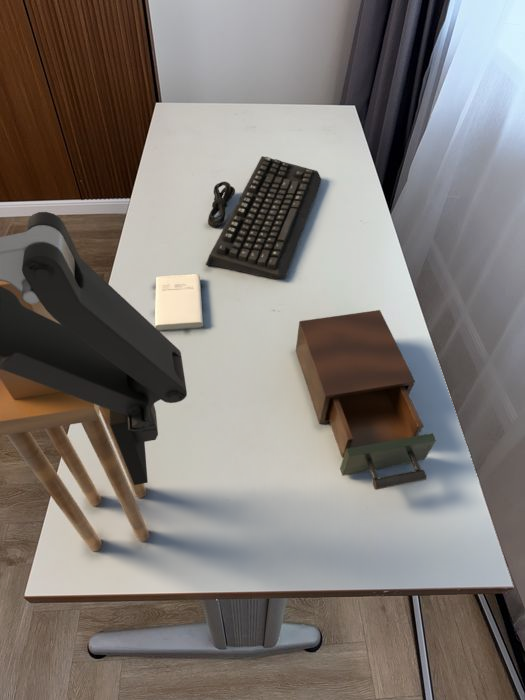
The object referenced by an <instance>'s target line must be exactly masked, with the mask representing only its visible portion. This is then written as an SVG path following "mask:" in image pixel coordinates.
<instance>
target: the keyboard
mask: <svg viewBox="0 0 525 700" xmlns="http://www.w3.org/2000/svg"><path fill="white" fill-rule="evenodd" d="M321 183H322V178H321V176H320V173H319V171H318V170H316V169H312V168H307V167H305V166H300V165H297V164H293V163H289V162H285V161H281V160H280V159H277V158H272V157H269V156H263V155H262V156H260V158H259V160H258V162H257V165H256V167H255V168H254V170H253V171H252V173H251V176H250V177H249V180H248V182H247V184H246V185H245V187H244V189H243V191H242V193H241V195H240V197H239V199H238V202H237V204H236V205H235V206H234V208H233V210H232V212H231V214H230V216H229V217H228V219H227V221H226V223H225V225H224V227H223V228H222V231H221V232H220V235H219V236H218V237H217V240H216V241H215V244H214V246H213V248H212V250H211V252H210V253H209V255H208V257H207V260H206V263H205V266H207V267H209V266H214V267H219V268H224V269H228V270H233V271H238V272H241V273H246V274H252V275H256V276H260V277H265V278H269V279H276V280H277V279H280V278H281V279H286V277H287V276H288V274H289V270H290V267H291V264H292V261H293V258H294V256H295V253H296V251H297V248H298V245H299V243H300V239H301V237H302V235H303V231H304V228H305V226H306V223H307V220H308V218H309V215H310V212H311V209H312V207H313V204H314V202H315V200H316V197H317V194H318V191H319V188H320V186H321ZM222 186H224V188H222V189H221V191H220V189H219V188H221V187H222ZM235 193H236V189H235V187H233V186H232V185H231V184H230V182H228V181H221V182H219V183H216V184H215V185H214V187H213V195H214V197H213V202H212V204H211V207H212V208H211V210H210V213H209V214H208V219H207V224H208V226H209V227H211V228H217V227H220V226H221V225H223V223H224V222H225V220H226V212H227V211H226V208H227V207H228V202H229V201H230V200H231V199H232V198H233V196H234V195H235ZM218 213H219V215H217V214H218ZM216 215H217V216H216Z"/></svg>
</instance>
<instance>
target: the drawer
mask: <svg viewBox="0 0 525 700" xmlns="http://www.w3.org/2000/svg"><path fill="white" fill-rule="evenodd" d="M327 415H328V418H329V421H330V422H329V424H330V426H331V430H332V432H333V436H334V438H335V442H336V444H337V447H338V450H339V452H340V453H339V454H340V456H341V458H342V461H341V464H340V467H339V470H340V473H341V476H342V477H344V476H349V475H355V474H359V473H363V472H365V473H366V472H369V471H370V474H371V477H372V486H373V489H374V490H375V491H378V490H383V489H388V488H393V487H397V486H402V485H403V486H404V485H408V484H413V483H418V482H423V481H426V480H427V473H426V472H425V470H424V469H421V466H420V464H419V462H423V461H425V460H426V458H427V457H428V455H429V453H430V451H431V450H432V448H433V446H434V445H435V443H436V441H437V439H436V437H435V435H434V433H433V432H431V433H424V434H421V432H422V430H423V428H424V424H423V422H422V420H421V417H420V415H419V413H418V412H417V410H416V407H415V406H414V403H413V401H412V400H411V397H410V394H409V395H408V392H407V390H406V388H405V386H401V387H395V388H389V389H383V390H377V391H371V392H365V393H359V394H353V395H347V396H340V397H334V398H330V400H329V405H328V409H327ZM406 464H412V466H413V470H412V471H408V472H402V473H397V474H391V475H387V476H381V477H379V474H378V472H377V470H381V469H385V468H390V467H395V466H401V465H402V466H403V465H406Z"/></svg>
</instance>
